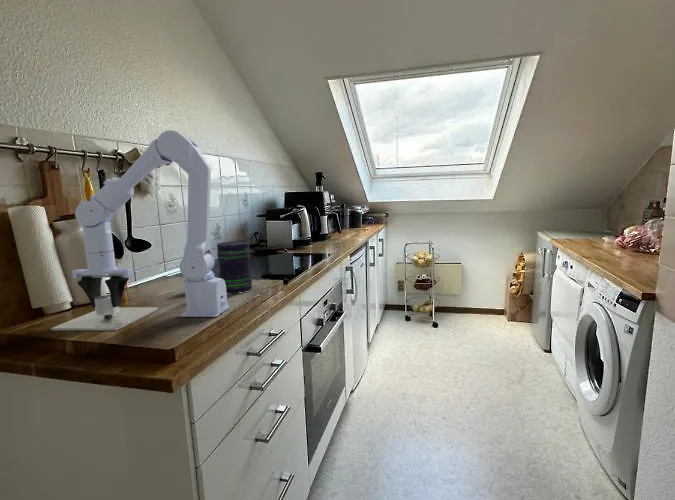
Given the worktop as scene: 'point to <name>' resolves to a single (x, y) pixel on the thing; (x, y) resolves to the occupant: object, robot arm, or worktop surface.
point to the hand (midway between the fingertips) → (107, 306)
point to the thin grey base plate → (106, 319)
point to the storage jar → (235, 266)
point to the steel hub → (104, 306)
